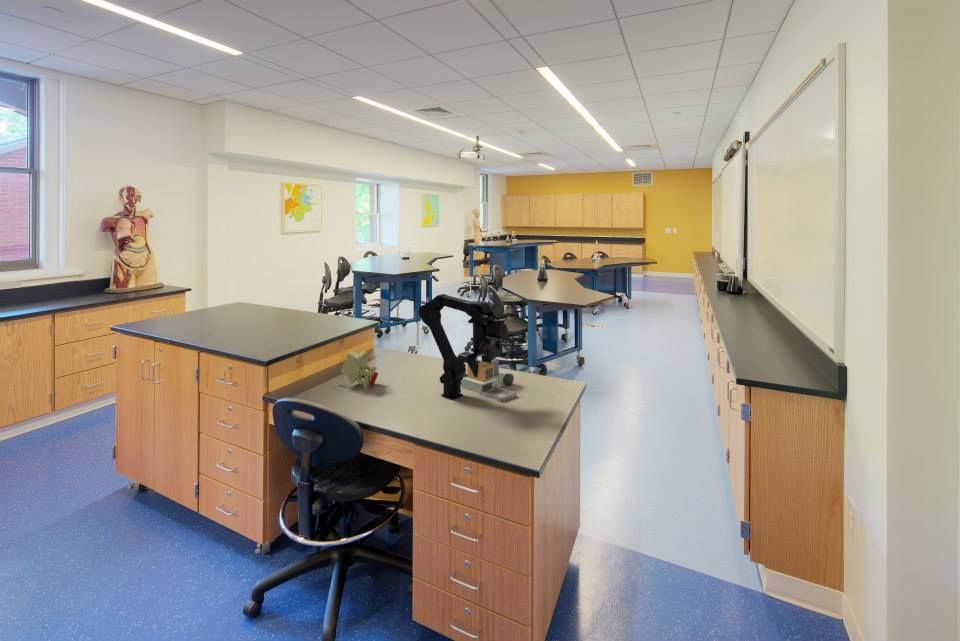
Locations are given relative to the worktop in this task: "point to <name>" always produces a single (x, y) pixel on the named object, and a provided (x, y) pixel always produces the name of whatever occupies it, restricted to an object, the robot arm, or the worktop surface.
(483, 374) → the tan wooden brick
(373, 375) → the mechanical component
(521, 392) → the worktop surface
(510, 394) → the bracket
